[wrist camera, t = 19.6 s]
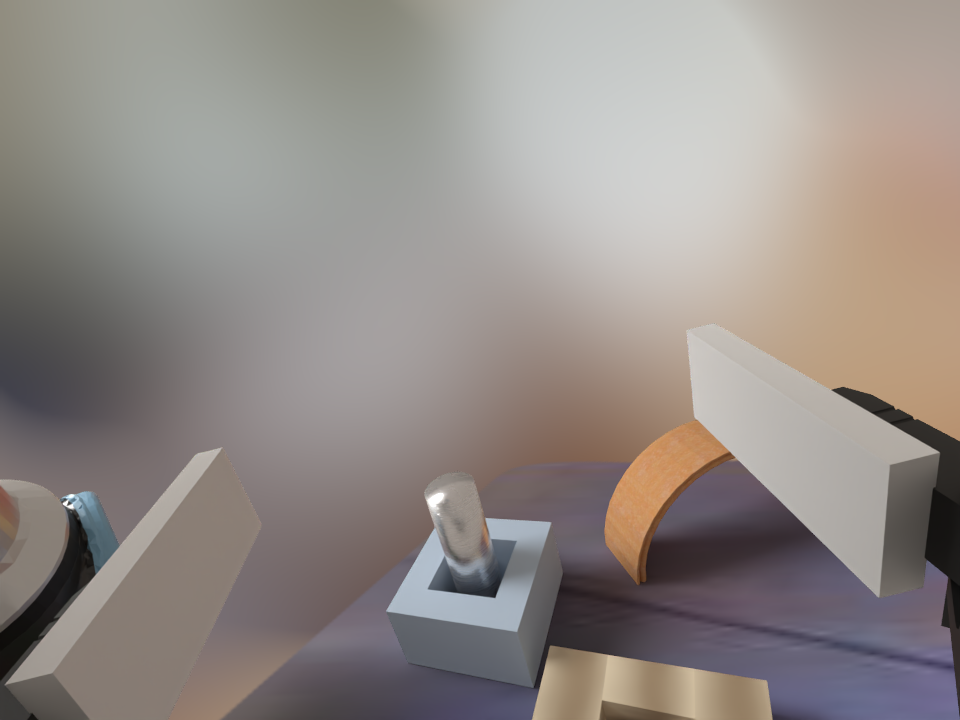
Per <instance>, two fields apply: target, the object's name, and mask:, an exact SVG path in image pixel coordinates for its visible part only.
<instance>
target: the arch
mask: <svg viewBox="0 0 960 720" xmlns="http://www.w3.org/2000/svg"><path fill="white" fill-rule="evenodd" d="M734 458H736V457H735V456H734V455H733V454H732V453H731V452H730V451H729V450H728V449H727V448H726V447H725V446H724V445H723V444H722V443H721V442H720V441H718V440H717V439H716V438H715V437H714V436H713V435H712V434H711V433H710V432H709V431H708V430H707V429H706V428H705V427H704V426H703V425H702V424H701V423H700V422H699V421H698V420H695V421H692V422H689V423H686V424H683V425H681V426H679V427H677V428H675V429H673V430H671V431H669V432H667V433H666V434H664V435H663V436H662V437H660V438H659V439H657V440H656V441H655V442H653V443H652V444H651V445H650V446H649V447H647V448H646V449H645V450H644V451H643V452H642V453H641V454H640V455H639V456H638V457H637V458H636V459H635V461H634V462H633V463H632V464H631V465H630V467H629V468H628V469H627V470H626V472H625V474H624V475H623V477H622V478H621V480H620V482H619V483H618V485H617V487H616V489H615V492H614V494H613V496H612V498H611V500H610V504H609V508H608V511H607V515H606V522H605V540H606V545H607V546H608V547H609V549H610V550H611V551H612V553H613V554H614V555H615V556H616V558H617V559H618V560H619V562H620V563H621V564H622V565H623V567H624V568H625V569H626V571H627V572H628V573H629V575H630V576H631V577H632V578H633V580H634V581H635V582H636V584H637V585H640V581H641V582H645V581H646V560H647V553H648V550H649V546H650V543H651V540H652V537H653V535H654V533H655V531H656V529H657V527H658V525H659V522H660V521H661V519H662V518H663V516H664V515H665V513H666V512H667V510H668V509H669V507H670V506H671V505H672V503H673V502H674V501H675V500H676V499H677V498H678V496H679V495H680V494H681V493H682V492H683V491H684V490H685V489H686V488H687V487H688V486H689V485H691V484H692V483H693V482H694V481H695V480H696V479H698V478H699V477H700V476H702V475H703V474H705V473H706V472H707V471H709V470H710V469H712V468H714V467H716V466H718V465H720V464H722V463H723V462H725V461H728V460H731V459H734Z"/></svg>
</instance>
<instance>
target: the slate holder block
mask: <svg viewBox="0 0 960 720" xmlns="http://www.w3.org/2000/svg"><path fill="white" fill-rule="evenodd" d="M485 520H486V523H487V527H488V530H489V533H490V537H491V540H492V544H493V547H494V551H495V554H496V557H497V561H498V564H499V568H500V571H501V575H502V578H503V579H502V582H501V585H500V587H499V590H498V592H497V595H496V598H490V597H482V596H475V595H467V594H459V593H457V590H456V587H455V584H454V581H453V578H452V575H451V572H450V569H449V566H448V563H447V560H446V557H445V554H444V552H443V549H442V546H441V543H440V540H439V537H438V534H437V531H436V528H434V530H433V532H432V533H431V535H430V537H429V539H428V540H427V542H426V544H425V545H424V547H423V549H422V551H421V552H420V554H419V556H418V558H417V559H416V561H415V563H414V564H413V566H412V568H411V570H410V571H409V573H408V575H407V576H406V578H405V580H404V582H403V583H402V585H401V587H400V588H399V590H398V592H397V594H396V595H395V597H394V599H393V600H392V602H391V604H390V606H389V607H388V609H387V611H386V612H387V615H388V617H389V619H390V622H391V624H392V626H393V629H394V631H395V634H396V636H397V638H398V641H399V643H400V645H401V648H402V650H403V652H404V655H405V657H406V660H407V662H408V663H411V664H416V665H421V666H426V667H431V668H436V669H441V670H446V671H451V672H456V673H461V674H466V675H471V676H476V677H481V678H486V679H491V680H496V681H501V682H506V683H511V684H515V685H520V686H525V687H530V688H534V685H535V681H536V677H537V673H538V669H539V665H540V661H541V657H542V653H543V650H544V646H545V642H546V638H547V634H548V630H549V626H550V622H551V618H552V614H553V610H554V606H555V602H556V599H557V595H558V591H559V587H560V583H561V579H562V575H563V570H562V566H561V562H560V557H559V553H558V549H557V544H556V540H555V536H554V531H553V527H552V523H551V522H538V521H522V520H506V519H490V518H485Z"/></svg>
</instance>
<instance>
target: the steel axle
mask: <svg viewBox="0 0 960 720" xmlns="http://www.w3.org/2000/svg"><path fill="white" fill-rule="evenodd" d="M425 499H426V502H427V505H428V508H429V511H430V513H431V516H432V519H433V522H434V525H435V528H436V531H437V534H438V537H439V540H440V543H441V546H442V549H443V552H444V554H445V557H446V560H447V563H448V566H449V569H450V572H451V575H452V578H453V581H454V584H455V587H456V590H457V593H459V594H467V595H475V596H482V597H490V598H496V595H497V592H498V590H499V587H500V585H501V582H502V579H503V578H502V575H501V571H500V568H499V564H498V561H497V557H496V554H495V551H494V547H493V544H492V540H491V537H490V533H489V530H488V527H487V523H486V520H485V516H484V513H483V509H482V506H481V503H480V499H479V496H478V492H477V489H476V486H475V482H474V479H473V477H472V476H471V475H469V474H467V473H463V472H452V473H447V474H444V475H442V476H440V477H438V478H436V479H435V480H433V481H432V482H431V483H430V484H429V485H428V486H427V488H426V490H425Z"/></svg>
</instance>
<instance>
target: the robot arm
mask: <svg viewBox="0 0 960 720" xmlns="http://www.w3.org/2000/svg"><path fill="white" fill-rule="evenodd" d="M687 340H688V351H689V362H690V373H691V385H692V396H693V407H694V417H695V418H696V419H697V420H698V421H699V422H700V423H701V424H702V425H703V426H704V427H705V428H706V429H707V430H708V431H709V432H710V433H711V434H712V435H713V436H714V437H715V438H716V439H717V440H718V441H720V442H721V443H722V444H723V445H724V446H725V447H726V448H727V449H728V450H729V451H730V452H731V453H732V454H733V455H734V456H735V457H736V458H737V459H738V460H739V461H740V462H741V463H742V464H743V465H744V466H745V467H746V468H747V469H748V470H749V471H750V472H751V473H752V474H753V475H754V476H755V477H756V478H757V479H758V480H759V481H760V482H761V483H762V484H763V485H764V486H765V487H766V488H767V489H768V490H769V491H770V492H771V493H773V494H774V495H775V496H776V497H777V498H778V499H779V500H780V501H781V502H782V503H783V504H784V505H785V506H786V507H787V508H788V509H789V510H790V511H791V512H792V513H793V514H794V515H795V516H796V517H797V518H798V519H799V520H800V521H801V522H802V523H803V524H804V525H805V526H806V527H807V528H808V529H809V530H810V531H811V532H812V533H813V534H814V535H815V536H816V537H817V538H818V539H819V540H820V541H821V542H822V543H823V544H824V545H826V546H827V547H828V548H829V549H830V550H831V551H832V552H833V553H834V554H835V555H836V556H837V557H838V558H839V559H840V560H841V561H842V562H843V563H844V564H845V565H846V566H847V567H848V568H849V569H850V570H851V571H852V572H853V573H854V574H855V575H856V576H857V577H858V578H859V579H860V580H861V581H862V582H863V583H864V584H865V585H866V586H867V587H868V588H869V589H870V590H871V591H872V592H873V593H874V594H875V595H876V596H877V597H879V598H882V597H886V596H890V595H894V594H898V593H902V592H906V591H910V590H914V589H919V588H923V585H924V577H925V569H926V561H927V560H928V561H929V562H930V563H932V564H933V565H934V566H935V567H937V568H938V569H939V570H940V571H942V572H943V573H944V574H945V575H947V576H948V584H947V591H946V598H945V604H944V611H943V618H942V625H941V626H944V627H948V628H950V632H951V641H952V651H953V660H954V669H955V678H956V688H957V697H958V706H959V715H960V441H958V440H956V439H954V438H952V437H950V436H948V435H947V434H945V433H943V432H941V431H939V430H937V429H935V428H933V427H931V426H930V425H928V424H926V423H924V422H922V421H920V420H918V419H917V420H914V419H913V417H912V416H911V415H909V414H907V413H905V412H903V411H901V410H899V409H897V410H895V408H894V406H892V405H890V404H888V403H886V402H884V401H882V400H880V399H878V398H877V397H875V396H873V395H871V394H867V393H863V392H860V391H856V390H852V389H849V388H845V387H841V388H837V389H833V390H830V389H828V388H827V387H825V386H823V385H821V384H820V383H818V382H816V381H814V380H813V379H811V378H809V377H807V376H806V375H804V374H802V373H800V372H798V371H797V370H795V369H793V368H792V367H790V366H788V365H786V364H784V363H783V362H781V361H779V360H778V359H776V358H774V357H772V356H771V355H769V354H767V353H765V352H763V351H762V350H760V349H758V348H757V347H755V346H753V345H751V344H750V343H748V342H746V341H744V340H743V339H741V338H739V337H737V336H736V335H734V334H732V333H731V332H729V331H727V330H725V329H723V328H722V327H720V326H718V325H717V324H715V323H712V324H708V325H705V326H700V327H697V328H692V329H689V330H687ZM261 527H262V524H261V522H260V520H259V518H258V516H257V514H256V512H255V510H254V508H253V506H252V504H251V502H250V500H249V498H248V496H247V494H246V492H245V490H244V488H243V486H242V485H241V482H240V481H239V478H238V476H237V474H236V472H235V470H234V469H233V466H232V464H231V463H230V461H229V459H228V457H227V455H226V453H225V451H224V449H223V448H219V449H215V450H211V451H207V452H203V453H199V454H196V455H195V456H194V457H193V459H192V460H191V461H190V462H189V463H188V465H187V466H186V467H185V468H184V470H183V471H182V472H181V473H180V474H179V476H178V477H177V478H176V479H175V481H174V482H173V483H172V484H171V485H170V486H169V488H168V489H167V490H166V491H165V492H164V494H163V495H162V496H161V497H160V498H159V500H158V501H157V502H156V503H155V504H154V506H153V507H152V508H151V510H149V512H148V513H147V514H146V515H145V517H144V518H143V519H142V520H141V521H140V522H139V524H138V525H137V526H136V527H135V529H134V530H133V531H132V532H131V534H130V535H129V536H128V537H127V538H126V539H125V541H124V542H123V543H122V544H121V545H119V543H118V541H117V539H116V536H115V534H114V532H113V529H112V527H111V525H110V523H109V520H108V518H107V516H106V513H105V511H104V509H103V507H102V504H101V502H100V500H99V497H98V496H97V495H96V494H95V493H94V492H82V493H79V494H76V495H73V494H71V495H68V496H65V497H63V498H61V499H60V500H59V499H58V498H57V497H56V496H55V495H53V494H52V493H51V492H50V491H49V490H47V489H45V488H43V487H42V486H40V485H37V484H33V483H29V482H25V481H19V480H0V720H168V719H169V717H170V714H171V712H172V710H173V708H174V706H175V704H176V702H177V700H178V698H179V696H180V694H181V692H182V690H183V688H184V686H185V684H186V681H187V679H188V677H189V675H190V673H191V671H192V669H193V667H194V665H195V663H196V661H197V659H198V656H199V654H200V653H201V651H202V648H203V646H204V644H205V642H206V640H207V638H208V636H209V634H210V632H211V630H212V628H213V626H214V624H215V622H216V620H217V618H218V615H219V613H220V611H221V609H222V607H223V605H224V603H225V601H226V599H227V597H228V595H229V593H230V591H231V589H232V587H233V584H234V582H235V580H236V578H237V576H238V574H239V572H240V570H241V568H242V566H243V564H244V562H245V560H246V558H247V555H248V553H249V551H250V549H251V547H252V545H253V543H254V541H255V539H256V537H257V535H258V533H259V531H260V529H261Z"/></svg>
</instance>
